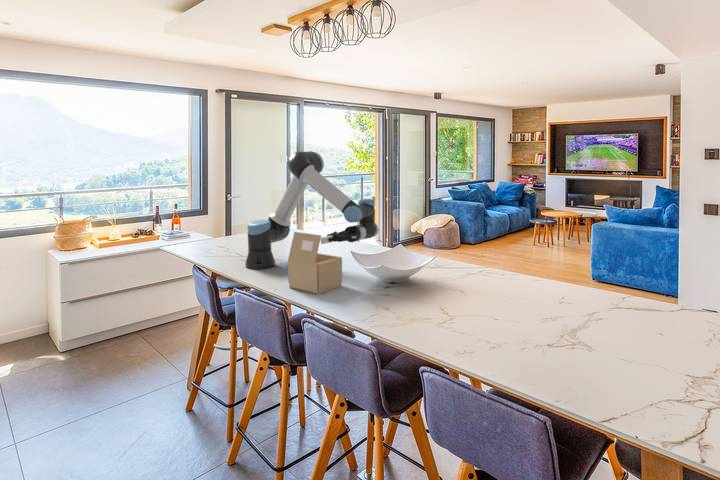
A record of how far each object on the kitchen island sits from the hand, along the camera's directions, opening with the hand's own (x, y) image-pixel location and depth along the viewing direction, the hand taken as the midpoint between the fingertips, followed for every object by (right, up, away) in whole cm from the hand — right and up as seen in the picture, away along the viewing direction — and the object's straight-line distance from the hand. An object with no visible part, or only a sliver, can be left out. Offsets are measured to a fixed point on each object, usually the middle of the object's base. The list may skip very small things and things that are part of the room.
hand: (322, 240), depth 206 cm
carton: (-3, -20, 0) cm, 20 cm away
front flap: (-8, -9, -9) cm, 15 cm away
